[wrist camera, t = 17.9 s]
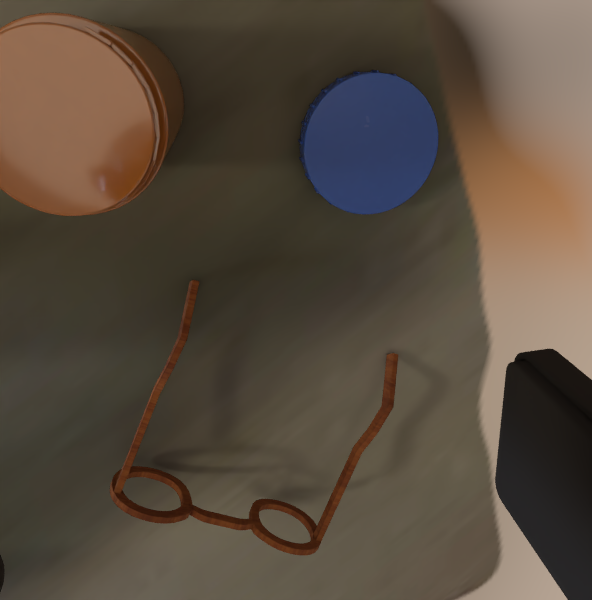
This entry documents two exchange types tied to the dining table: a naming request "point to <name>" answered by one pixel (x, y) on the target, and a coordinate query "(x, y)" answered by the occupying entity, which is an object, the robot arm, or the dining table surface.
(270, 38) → the dining table surface
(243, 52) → the dining table surface
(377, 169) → the lid
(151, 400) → the glasses
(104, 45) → the jar
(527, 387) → the robot arm
